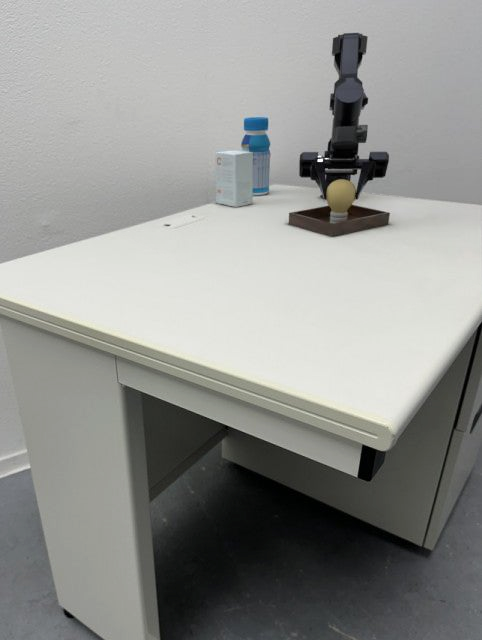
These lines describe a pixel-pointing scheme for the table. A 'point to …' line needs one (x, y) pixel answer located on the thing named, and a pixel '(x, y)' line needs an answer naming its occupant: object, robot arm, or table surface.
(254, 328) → the table surface
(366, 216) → the walnut tray
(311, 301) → the table surface
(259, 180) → the beverage bottle
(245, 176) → the small box
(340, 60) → the robot arm
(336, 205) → the light bulb
